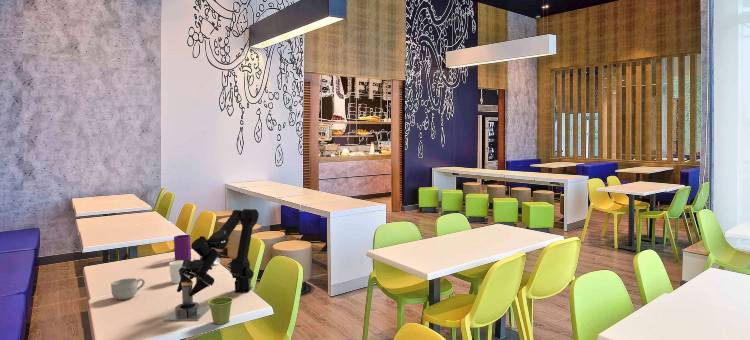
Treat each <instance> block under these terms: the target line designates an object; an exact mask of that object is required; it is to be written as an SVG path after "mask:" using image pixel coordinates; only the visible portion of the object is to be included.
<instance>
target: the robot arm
mask: <svg viewBox="0 0 750 340" xmlns="http://www.w3.org/2000/svg"><path fill="white" fill-rule="evenodd" d="M259 215H260V213H259V211H258V210H257V209H256V208H255V209H254V208H244V209H234V210H232V213H231V215H230V216H229V217H228V219H227V220H226V221H225V223H224V224H223V225H222V226H221V228H219V230H217V231H215V232H213V233H212V234H211V235H210V236H209V237H208V239H207V238H206V237H205V236H204V235H200V236H199V237H198V238H196V239H195V240H194V241H192V243H191V250H193V251H194V252H195V253H197V255H199V258H198V259H195V258H194V259H193V260H191V261H190V260H186V259H184V261H183V264H182V267H181V268H180V269H179V271H178V272H180V273H179V274H180V277H181V279H180V283H178V286H177V289H176V292H177V293H180V292H182V285H181V283H182V282H184V281H193V279H194V278H195V284H194V286H192V291H191V293H190V295H189V296H191V297H192V296H195V295H196V294H198V293H199V292H201V291H203V290H205V289H207V288H210V286H211V287H212V286H213V285H214V284H215V278H214V277H212V276H211V275H210V274H209V273H208V272H209V270H210V271H211V270H213V267H212V266H214V265H213V263H214V262H215V260H216V259H217V258H220V260H221V259H222V257H223V256H222V252H221V251H219V250H224V249H225V248H226V247H227V245H228V243H229V240H230V239H229V238H230V235H231V234H232V232H233V231H234V230H235V229H236V228H237V226H238V224H239V223H240V224H241V232H240V237H239V242H238V247H237V248H238V250H237V253H236V254H237V255H236V257H235V258H234V259H232V260H231V263H230V267H229V269H230V273H231V276H232V279H235V281H234V293H249V292H250V291H251V290H252V288H253V287H252V286H251V285H252V284H251V283H252V281H251V279H252V278H254V275H255V274H254V271H253V270H252V269H251V268H250V267H251V263H250V260H249V251H250V246H251V240H252V233H253V229H254V228H255V226H256V224H257V223H258V220H259ZM200 256H202V257H201V258H200Z"/></svg>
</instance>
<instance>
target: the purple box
mask: <svg viewBox="0 0 750 340" xmlns="http://www.w3.org/2000/svg"><path fill="white" fill-rule="evenodd" d="M191 245H192V243H191V235H189V234H179V235H178V234H177V235H175V236H174V237H173V247H174V261H179V260H183V261H184V259H186V260H190V261H192V248H191Z"/></svg>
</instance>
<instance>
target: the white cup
mask: <svg viewBox="0 0 750 340" xmlns="http://www.w3.org/2000/svg"><path fill="white" fill-rule="evenodd" d="M182 264H183V260H179V261H175V260H174V261H170V262H169V264H168V266H169V273H170V282H171V283H172V284H179V283H180V279H181V277H180V274H179V273H180V272H178V271H179V269H180V268H181V267H182Z"/></svg>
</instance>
